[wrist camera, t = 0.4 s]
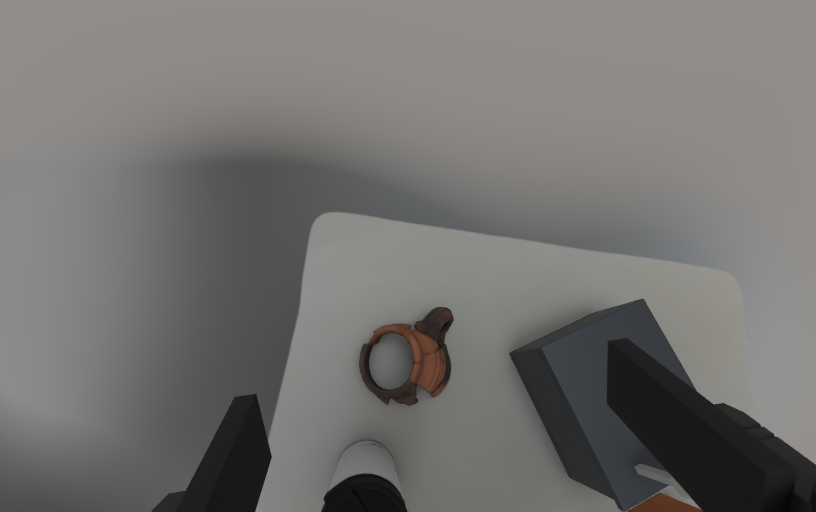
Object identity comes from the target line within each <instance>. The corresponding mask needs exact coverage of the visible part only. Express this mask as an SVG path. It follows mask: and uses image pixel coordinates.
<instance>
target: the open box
mask: <svg viewBox="0 0 816 512" xmlns="http://www.w3.org/2000/svg"><path fill="white" fill-rule="evenodd" d="M636 301H637V300H636ZM633 302H635V301H633ZM633 302H629V303H626V304H622V305H619V306H616V307H612V308H609V309H605V310H602V311H598V312H595V313H592V314H590V315H588V316H586V317H584V318H582V319H580V320H578V321H576V322H574V323H571V324H569V325H567V326H565V327H563V328H561V329H559V330H557V331H555V332H553V333H550V334H548V335H546V336H544V337H542V338H540V339H538V340H536V341H534V342H532V343H529V344H527V345H525V346H523V347H521V348H519V349H517V350H515V351H513V352H511V353H510V356H511V358H512V360H513V362H514V364H515V366H516V368H517V370H518V372H519V374H520V376H521V378H522V380H523V383H524V385H525V387H526V389H527V391H528V393H529V395H530V397H531V399H532V401H533V403H534V405H535V407H536V409H537V411H538V413H539V415H540V417H541V420H542V422H543V424H544V426H545V428H546V430H547V432H548V434H549V436H550V438H551V440H552V442H553V444H554V446H555V448H556V450H557V452H558V454H559V457H560V459H561V461H562V463H563V465H564V467H565V469H566V471H567V473H568V475H569V477H570V478H572V479H574V480H576V481H578V482H580V483H582V484H584V485H586V486H588V487H590V488H592V489H594V490H596V491H598V492H600V493H602V494H604V495H606V496H608V497H610V498H612V499H614V498H613V496H612V494H611V493H610V491H609V489H608V487H607V485H606V483H605V481H604V479H603V477H602V475H601V473H600V471H599V469H598V467H597V465H596V463H595V461H594V459H593V457H592V455H591V453H590V451H589V449H588V447H587V445H586V443H585V441H584V439H583V437H582V435H581V433H580V431H579V429H578V427H577V425H576V423H575V421H574V419H573V417H572V415H571V413H570V411H569V409H568V407H567V405H566V403H565V401H564V399H563V397H562V395H561V393H560V391H559V389H558V387H557V385H556V383H555V381H554V379H553V377H552V375H551V373H550V371H549V369H548V367H547V365H546V363H545V361H544V359H543V357H542V355H541V353H540V351H539V350H538V348H539V347H541V346H543V345H545V344H548V343H550V342H552V341H554V340H556V339H558V338H560V337H562V336H564V335H566V334H568V333H570V332H572V331H575V330H577V329H579V328H581V327H583V326H585V325H587V324H589V323H591V322H593V321H595V320H597V319H600V318H602V317H604V316H606V315H608V314H610V313H612V312H614V311H616V310H618V309H620V308H622V307H625V306H627V305H629V304H631V303H633Z"/></svg>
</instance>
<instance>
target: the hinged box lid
mask: <svg viewBox="0 0 816 512" xmlns="http://www.w3.org/2000/svg"><path fill="white" fill-rule="evenodd" d="M623 338H628V339H629V340H631V341H632V342H633V343H634V344H636V345H637V346H638V347H640V348H641V349H642V350H644V351H645V352H646V353H647V354H649V355H650V356H651V357H653V358H654V359H655V360H657V361H658V362H659V363H660V364H662V365H663V366H664V367H666V368H667V369H668V370H670V371H671V372H672V373H673V374H675V375H676V376H677V377H679V378H680V379H681V380H682V381H684V382H685V383H686V384H688V385H689V386H690V387H692V388H693V389H694V390H695V391H696V389H695V387H694V385H693V384H692V382H691V380H690V379H689V377H688V375H687V373H686V372H685V370H684V368H683V366H682V365H681V363H680V361H679V359H678V358H677V356H676V354H675V353H674V351H673V349H672V347H671V346H670V344H669V342H668V340H667V339H666V337H665V335H664V333H663V332H662V330H661V328H660V327H659V325H658V323H657V321H656V320H655V318H654V316H653V314H652V313H651V311H650V309H649V307H648V306H647V304H646V302H645V301H644V299H640V300H637V301H635V302H633V303H631V304H629V305H627V306H625V307H622V308H620V309H618V310H616V311H614V312H612V313H610V314H608V315H606V316H604V317H602V318H600V319H597V320H595V321H593V322H591V323H589V324H587V325H585V326H583V327H581V328H579V329H577V330H575V331H572V332H570V333H568V334H566V335H564V336H562V337H560V338H558V339H556V340H554V341H552V342H550V343H548V344H545V345H543V346H541V347H539V348H538V350H539V351H540V353H541V355H542V357H543V359H544V361H545V363H546V365H547V367H548V369H549V371H550V373H551V375H552V377H553V379H554V381H555V383H556V385H557V387H558V389H559V391H560V393H561V395H562V397H563V399H564V401H565V403H566V405H567V407H568V409H569V411H570V413H571V415H572V417H573V419H574V421H575V423H576V425H577V427H578V429H579V431H580V433H581V435H582V437H583V439H584V441H585V443H586V445H587V447H588V449H589V451H590V453H591V455H592V457H593V459H594V461H595V463H596V465H597V467H598V469H599V471H600V473H601V475H602V477H603V479H604V481H605V483H606V485H607V487H608V489H609V491H610V493H611V494H612V496H613V498H614V500H615V502H616V504H617V506H618V508H619V509H620V510H622V511H626V510H628V509H629V508H631V507H633V506H634V505H636V504H638V503H640V502H641V501H643V500H645V499H646V498H648V497H650V496H651V495H653V494H655V493H656V492H658V491H660V490H661V489H663V488H665V487H666V486H668V485H670V486H673V487H674V488H675V489H676V490H677V492H678V493H679V494H680V495H682V496H683V497H684V498H687V499H690V498H691V497H690V496H689V495H688V494H687V493H686V492H685V490H684V489H683V488H682V487H681V486H680V485H679V484H678V483H677V482H676V480H675V479H674V478H673V477H672V476H671V475H670V474H669V473H668V472H667V470H666V469H665V468H664V467H663V466H662V465H661V464H660V463H659V461H658V460H657V459H656V458H655V457H654V456H653V455H652V454H651V453H650V451H649V450H648V449H647V448H646V447H645V446H644V445H643V444H642V443H641V441H640V440H639V439H638V438H637V437H636V436H635V435H634V434H633V433H632V431H631V430H630V429H629V428H628V427H627V426H626V425H625V424H624V422H623V421H622V420H621V419H620V418H619V417H618V416H617V415H616V414H615V412H614V411H613V410H612V409H611V408H610V407H609V406H608V405H607V353H608V341H610V340H617V339H623Z"/></svg>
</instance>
